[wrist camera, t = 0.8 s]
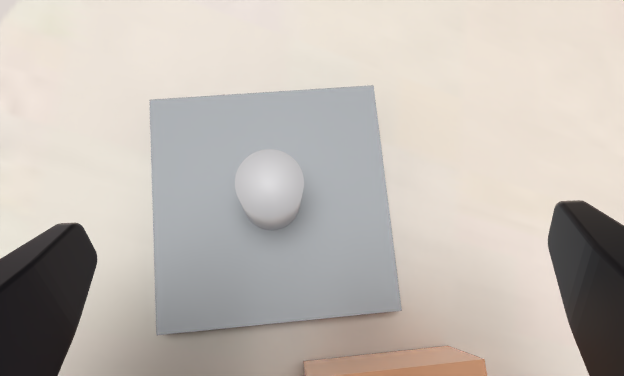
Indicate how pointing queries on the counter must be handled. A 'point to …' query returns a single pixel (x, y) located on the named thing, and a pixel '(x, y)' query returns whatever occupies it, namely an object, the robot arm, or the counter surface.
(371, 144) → the grey peg base
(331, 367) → the collar
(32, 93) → the counter surface
